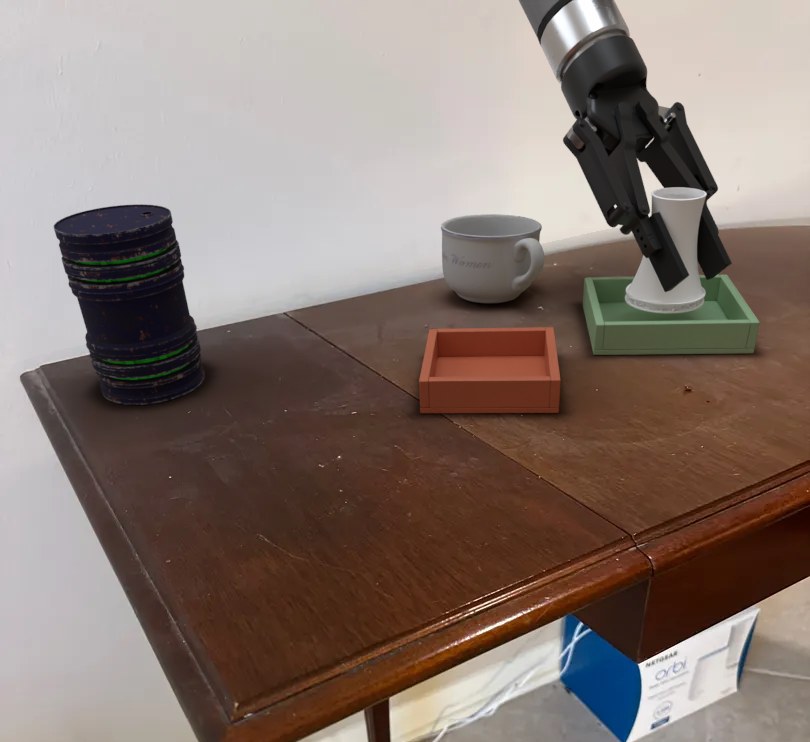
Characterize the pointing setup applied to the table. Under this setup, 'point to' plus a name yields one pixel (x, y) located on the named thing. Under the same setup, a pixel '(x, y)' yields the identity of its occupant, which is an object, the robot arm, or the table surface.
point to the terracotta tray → (490, 371)
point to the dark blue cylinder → (132, 301)
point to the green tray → (668, 321)
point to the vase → (683, 224)
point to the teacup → (491, 256)
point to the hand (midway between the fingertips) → (698, 277)
